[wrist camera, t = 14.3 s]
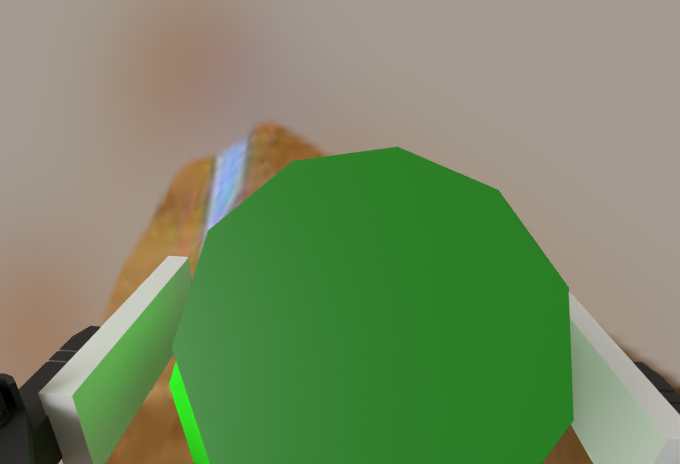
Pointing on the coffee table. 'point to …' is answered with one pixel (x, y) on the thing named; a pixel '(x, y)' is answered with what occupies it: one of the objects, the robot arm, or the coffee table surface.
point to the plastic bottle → (373, 323)
